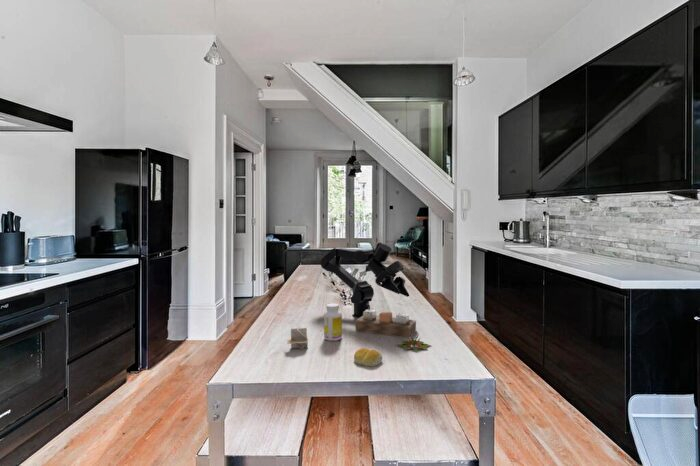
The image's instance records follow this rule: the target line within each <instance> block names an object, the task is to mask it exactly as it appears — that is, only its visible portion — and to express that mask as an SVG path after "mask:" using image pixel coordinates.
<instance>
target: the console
mask: <svg viewBox="0 0 700 466" xmlns="http://www.w3.org/2000/svg"><path fill="white" fill-rule="evenodd" d="M355 331H358V332H365V333H372V334H378V335H386V336H391V337H392V336H394V337H399V338H405V339H410V338H411V336H413V334H414V333H415V332H416V331H417V320H415V319H409V323H408V324H407V325H402V324H396V317H392V321H391V322H390V323H387V322H379V315H377V314H376V319H374V320H373V321H372V320H364V319H363V316H362V317H358V318H357V319H356V320H355ZM408 335H409V336H408Z"/></svg>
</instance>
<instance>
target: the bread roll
mask: <svg viewBox="0 0 700 466" xmlns="http://www.w3.org/2000/svg"><path fill="white" fill-rule="evenodd" d="M353 359H354V362H355V363H356V364H357V365H360V366H365V367H377V365H379V364H381V363H382V361H383V356H382V353H381V352H379V351H378V350H376V349H369V348H366V347H365V348H360V349H358V350H356V351H355V353H354V354H353Z"/></svg>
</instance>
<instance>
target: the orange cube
mask: <svg viewBox="0 0 700 466" xmlns="http://www.w3.org/2000/svg"><path fill="white" fill-rule="evenodd" d="M378 316H379V322H387V323H390V322H391V321H392V318H393V312H391V311H382V312H380V313H379V314H378Z"/></svg>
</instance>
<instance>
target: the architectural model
mask: <svg viewBox="0 0 700 466" xmlns="http://www.w3.org/2000/svg"><path fill="white" fill-rule="evenodd" d="M307 331H308V329H307V327H302V328H301V327H299V328H298V327H297V328H290V338H291V339H287V344H288V345H289V344H290V348H291V349H300V350H303V349H304V348H303V347H305V348H306V349H307V350H308V349H309V347H308V346H309V345H308V342H309V340H308V334H307V333H308V332H307Z"/></svg>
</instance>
